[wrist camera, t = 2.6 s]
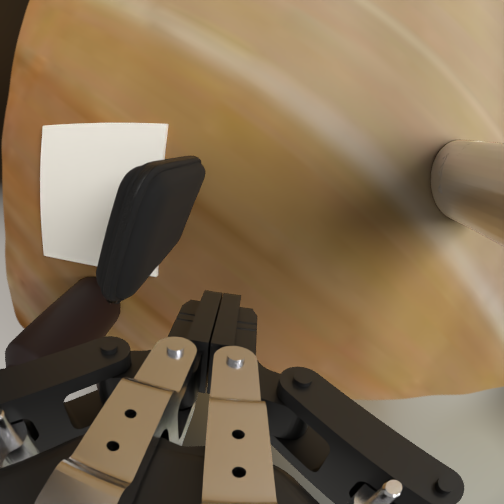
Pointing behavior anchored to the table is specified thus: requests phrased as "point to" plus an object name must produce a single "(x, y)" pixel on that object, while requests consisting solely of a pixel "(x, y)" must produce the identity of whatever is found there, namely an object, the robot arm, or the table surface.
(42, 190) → the cream paper sheet
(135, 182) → the carrying case or bag
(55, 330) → the bottle
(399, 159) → the table surface
